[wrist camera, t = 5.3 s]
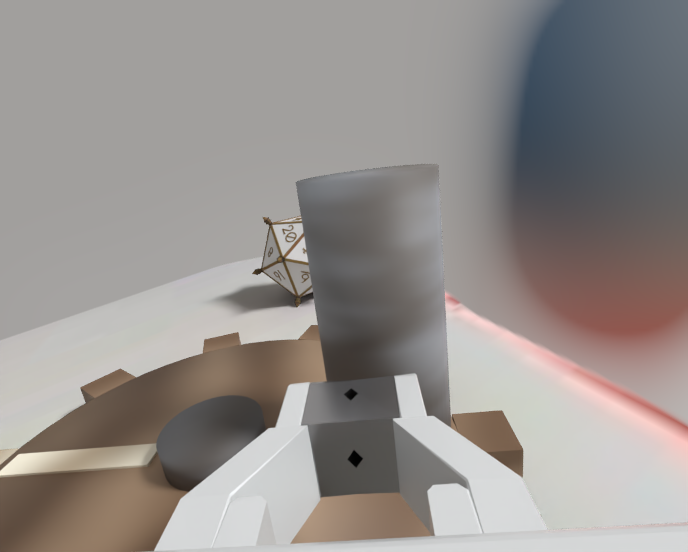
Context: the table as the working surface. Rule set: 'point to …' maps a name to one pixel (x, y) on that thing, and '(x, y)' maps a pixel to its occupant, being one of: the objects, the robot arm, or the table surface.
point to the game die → (287, 257)
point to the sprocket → (259, 386)
